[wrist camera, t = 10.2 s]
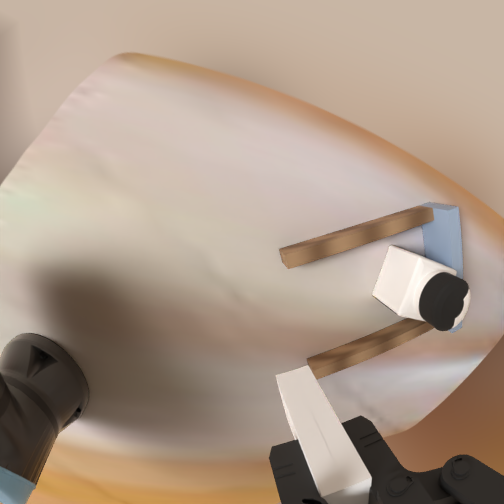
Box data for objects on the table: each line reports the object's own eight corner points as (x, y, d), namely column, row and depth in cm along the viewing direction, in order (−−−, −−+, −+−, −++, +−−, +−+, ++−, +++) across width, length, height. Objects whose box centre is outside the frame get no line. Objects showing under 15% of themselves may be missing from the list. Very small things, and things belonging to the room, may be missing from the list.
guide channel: (308, 367, 40) (315, 379, 37) (278, 249, 35) (284, 255, 33) (428, 317, 41) (440, 324, 38) (419, 205, 36) (432, 207, 34)
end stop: (428, 317, 41) (452, 333, 35) (419, 205, 36) (447, 210, 31) (438, 312, 41) (461, 327, 35) (429, 202, 37) (458, 206, 31)
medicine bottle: (370, 295, 38) (421, 334, 27) (388, 243, 37) (448, 268, 25) (408, 304, 40) (460, 341, 28) (426, 257, 38) (484, 282, 27)
